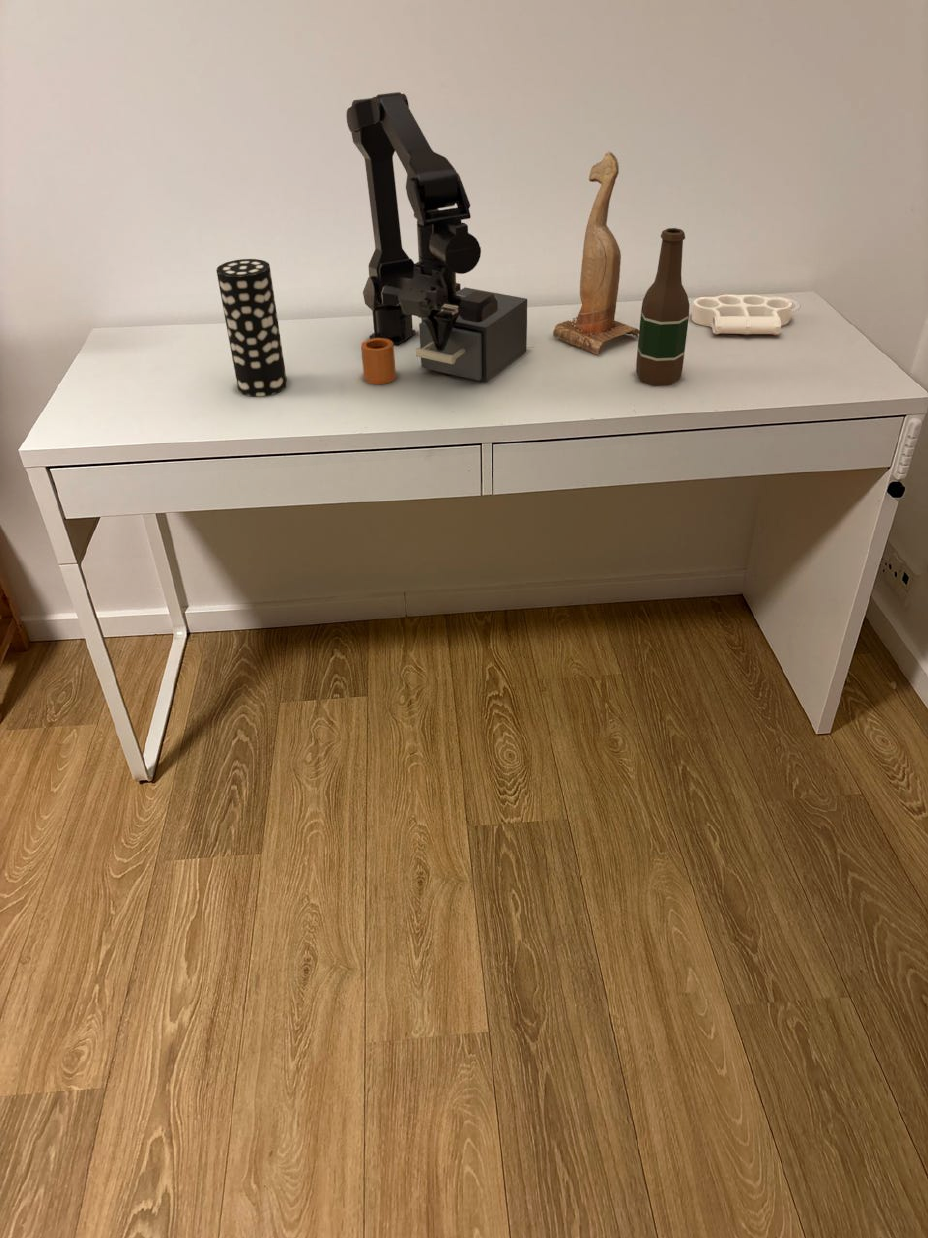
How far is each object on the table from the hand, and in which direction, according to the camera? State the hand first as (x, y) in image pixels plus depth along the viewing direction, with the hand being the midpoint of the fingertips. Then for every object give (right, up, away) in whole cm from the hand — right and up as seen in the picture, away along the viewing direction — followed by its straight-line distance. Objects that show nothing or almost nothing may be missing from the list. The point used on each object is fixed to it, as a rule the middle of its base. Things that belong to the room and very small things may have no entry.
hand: (440, 350), depth 160 cm
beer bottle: (+37, -4, +4) cm, 37 cm away
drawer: (+3, 0, +8) cm, 8 cm away
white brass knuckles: (+56, +11, +21) cm, 61 cm away
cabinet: (+6, +1, +11) cm, 13 cm away
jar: (-11, -3, +7) cm, 13 cm away
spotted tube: (-31, -5, +5) cm, 31 cm away
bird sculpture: (+28, +7, +17) cm, 34 cm away
